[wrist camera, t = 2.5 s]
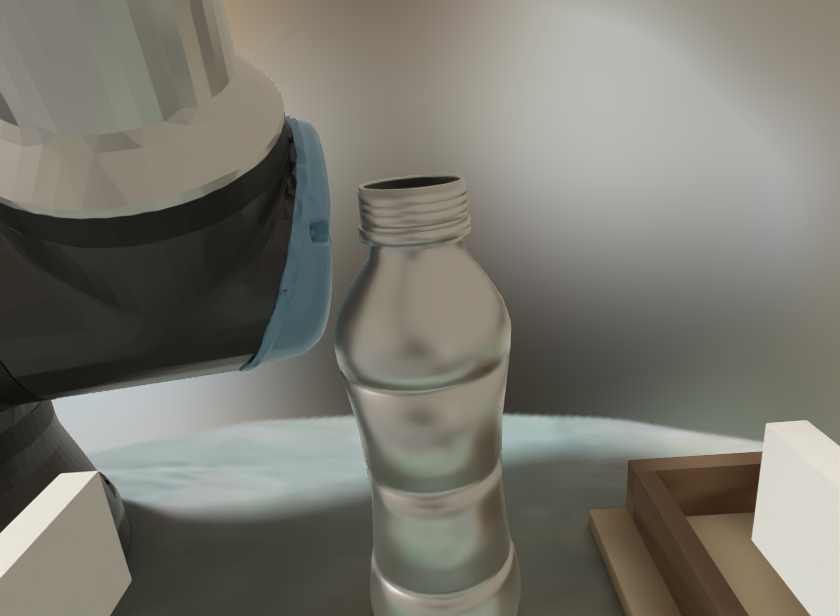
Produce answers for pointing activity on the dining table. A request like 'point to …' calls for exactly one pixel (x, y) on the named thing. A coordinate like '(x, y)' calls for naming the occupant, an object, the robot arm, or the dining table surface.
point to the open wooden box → (691, 541)
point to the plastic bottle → (429, 403)
